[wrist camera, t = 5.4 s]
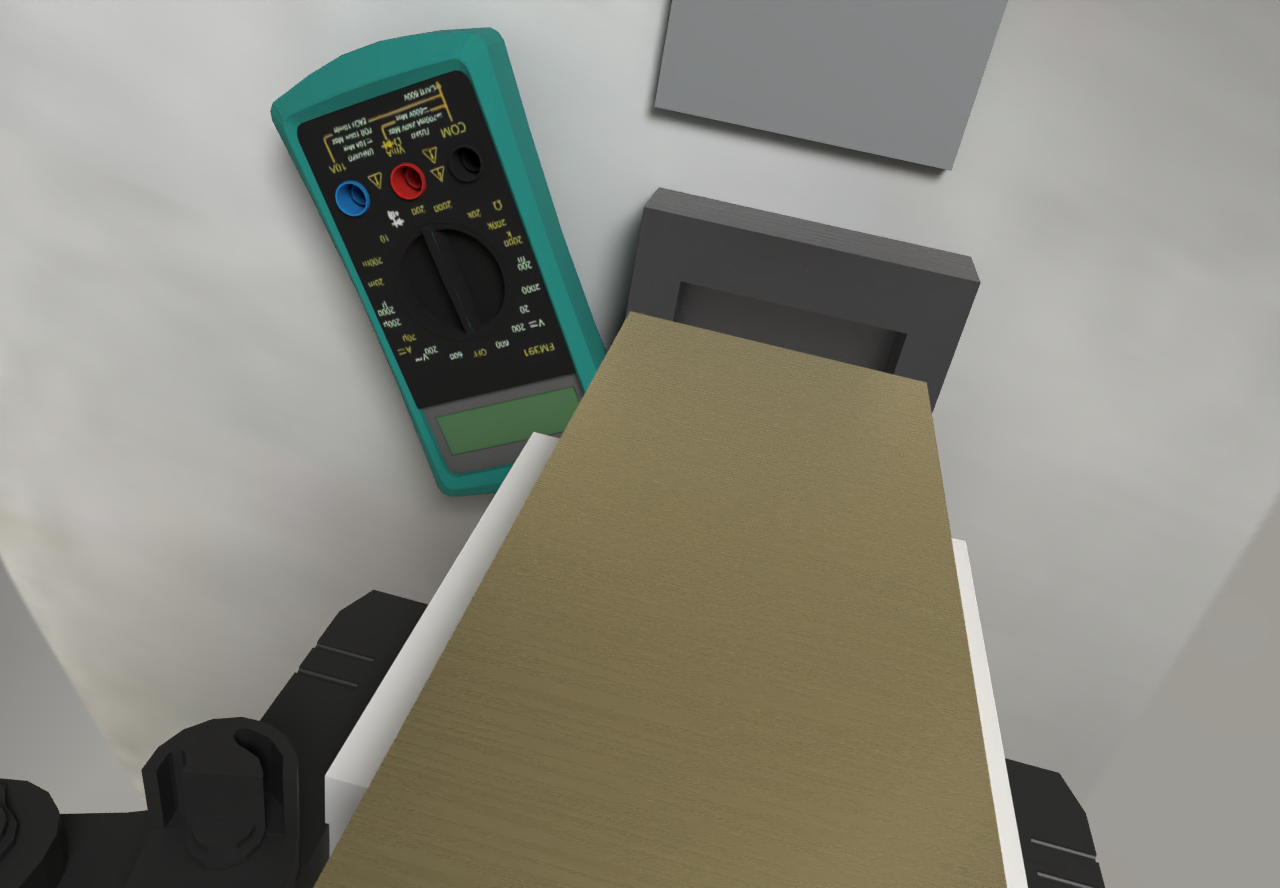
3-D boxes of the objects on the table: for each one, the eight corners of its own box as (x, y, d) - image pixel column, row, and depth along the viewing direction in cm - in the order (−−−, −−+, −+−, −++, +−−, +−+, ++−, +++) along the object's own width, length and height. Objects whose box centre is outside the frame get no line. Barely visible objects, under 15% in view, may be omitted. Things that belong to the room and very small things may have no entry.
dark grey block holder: (659, 187, 30) (644, 206, 28) (971, 256, 29) (980, 282, 27) (579, 633, 39) (563, 673, 37) (813, 695, 39) (810, 740, 36)
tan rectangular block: (630, 311, 16) (267, 970, 6) (926, 382, 15) (1059, 1211, 6) (588, 545, 18) (288, 1271, 9) (840, 612, 18) (827, 1450, 8)
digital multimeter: (498, 2, 28) (464, 8, 25) (645, 436, 34) (630, 476, 31) (293, 76, 30) (243, 89, 28) (466, 472, 36) (438, 512, 34)
